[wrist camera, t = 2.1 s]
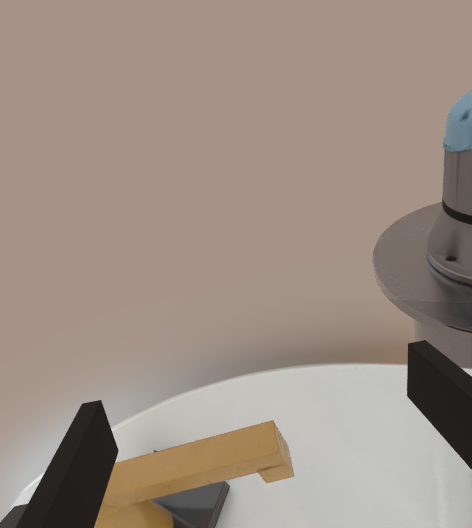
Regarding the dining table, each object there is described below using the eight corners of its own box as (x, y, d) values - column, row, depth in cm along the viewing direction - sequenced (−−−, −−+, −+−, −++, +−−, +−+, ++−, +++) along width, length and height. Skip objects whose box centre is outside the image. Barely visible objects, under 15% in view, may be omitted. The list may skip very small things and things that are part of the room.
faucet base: (160, 454, 38) (113, 415, 32) (230, 486, 32) (188, 445, 27) (91, 586, 30) (13, 565, 24) (168, 655, 25) (92, 648, 19)
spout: (80, 545, 24) (37, 529, 22) (95, 481, 28) (60, 460, 25) (298, 494, 22) (281, 468, 19) (285, 431, 26) (268, 402, 23)
